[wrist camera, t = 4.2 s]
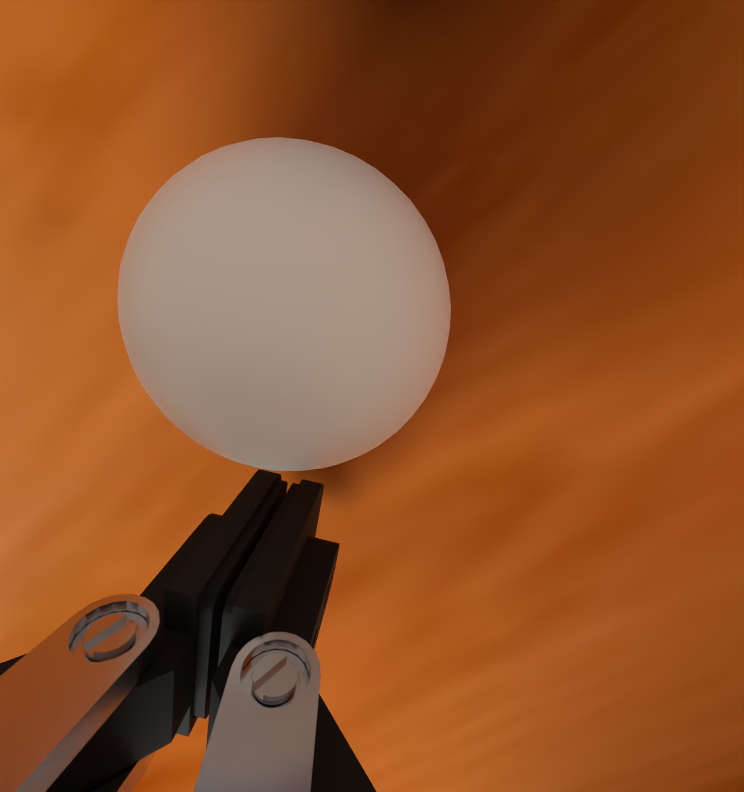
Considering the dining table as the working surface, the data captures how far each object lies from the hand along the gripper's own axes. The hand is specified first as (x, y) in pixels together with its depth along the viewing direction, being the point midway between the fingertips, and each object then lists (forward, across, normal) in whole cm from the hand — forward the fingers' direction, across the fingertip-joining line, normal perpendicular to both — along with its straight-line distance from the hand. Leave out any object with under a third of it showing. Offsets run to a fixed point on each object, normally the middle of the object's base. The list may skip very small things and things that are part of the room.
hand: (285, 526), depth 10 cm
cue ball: (-1, 0, -6) cm, 6 cm away
